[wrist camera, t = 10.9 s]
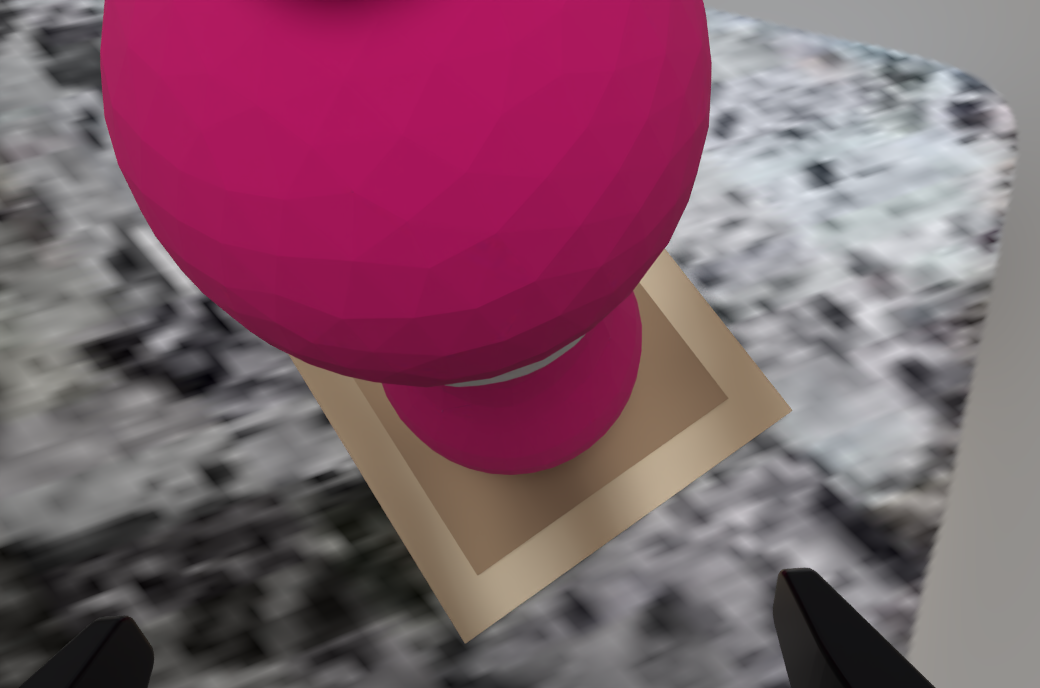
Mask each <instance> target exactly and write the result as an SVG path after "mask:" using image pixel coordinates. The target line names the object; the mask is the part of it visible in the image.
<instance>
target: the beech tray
mask: <svg viewBox="0 0 1040 688" xmlns="http://www.w3.org/2000/svg"><path fill="white" fill-rule="evenodd" d="M633 291H634V294H635V296H636V299H637V302H638V307H639V312H640V318H641V323H642V352H641V358H640V363H639V369H638V374H637V379H636V382H635V385H634V387H633V390H632V393H631V396H630V398H629V400H628V402H627V404H626V406H625V407H624V409H623V411H622V413H621V414H620V416H619V418H618V419H617V420H616V421H615V423H614V424H613V425H612V426H611V428H610V429H609V430H608V431H607V433H606V434H605V435H604V436H603V437H601V438H600V439H599V440H598V441H597V442H596V443H595V444H594V445H592V446H591V447H590V448H589V449H587V450H586V451H584V452H583V453H581V454H579V455H578V456H576V457H575V458H573V459H572V460H569V461H567V462H565V463H562V464H560V465H558V466H556V467H553V468H550V469H546V470H542V471H538V472H534V473H527V474H517V475H503V474H489V473H485V472H480V471H476V470H472V469H468V468H466V467H463V466H461V465H459V464H456V463H454V462H451V461H449V460H448V459H446V458H444V457H443V456H441V455H439V454H438V453H436V452H435V451H433V450H432V449H431V448H429V447H428V446H427V445H426V444H425V443H424V442H422V441H421V440H420V439H419V438H418V437H417V436H416V435H415V434H414V433H413V432H412V431H411V430H410V429H409V428H408V427H407V426H406V425H405V423H404V422H403V421H402V420H401V419H400V418H399V416H398V414H397V413H396V411H395V409H394V408H393V406H392V405H391V403H390V401H389V400H388V398H387V396H386V394H385V391H384V388H383V386H382V383H377V382H371V381H366V380H361V379H357V378H352V377H347V376H343V375H340V374H337V373H334V372H331V371H328V370H325V369H322V368H319V367H316V366H313V365H310V364H308V363H306V362H304V361H302V360H300V359H298V358H296V357H294V356H292V355H290V354H289V356H290V357H291V359H292V361H293V362H294V364H295V366H296V367H297V369H298V371H299V372H300V374H301V375H302V377H303V379H304V380H305V382H306V384H307V385H308V387H309V389H310V390H311V392H312V394H313V395H314V397H315V398H316V400H317V402H318V403H319V405H320V407H321V408H322V410H323V412H324V413H325V415H326V416H327V418H328V420H329V421H330V423H331V425H332V426H333V428H334V430H335V431H336V433H337V435H338V436H339V438H340V439H341V441H342V443H343V444H344V446H345V448H346V449H347V451H348V453H349V454H350V456H351V457H352V459H353V461H354V462H355V464H356V466H357V467H358V469H359V471H360V472H361V474H362V476H363V477H364V479H365V480H366V482H367V484H368V485H369V487H370V489H371V490H372V492H373V494H374V495H375V497H376V498H377V500H378V502H379V503H380V505H381V507H382V508H383V510H384V512H385V513H386V515H387V517H388V518H389V520H390V521H391V523H392V525H393V526H394V528H395V530H396V531H397V533H398V535H399V536H400V538H401V539H402V541H403V543H404V544H405V546H406V548H407V549H408V551H409V553H410V554H411V556H412V557H413V559H414V561H415V562H416V564H417V566H418V567H419V569H420V571H421V572H422V574H423V576H424V577H425V579H426V580H427V582H428V584H429V585H430V587H431V589H432V590H433V592H434V594H435V595H436V597H437V598H438V600H439V602H440V603H441V605H442V607H443V608H444V610H445V612H446V613H447V615H448V617H449V618H450V620H451V621H452V623H453V625H454V626H455V628H456V630H457V631H458V633H459V635H460V636H461V638H462V639H463V641H464V643H465V644H466V643H467V642H469V641H470V640H471V639H473V638H474V637H476V636H477V635H478V634H480V633H481V632H483V631H484V630H485V629H487V628H488V627H490V626H491V625H492V624H494V623H495V622H497V621H498V620H499V619H501V618H502V617H504V616H505V615H506V614H508V613H509V612H511V611H512V610H513V609H515V608H516V607H518V606H519V605H520V604H522V603H523V602H525V601H526V600H527V599H529V598H530V597H532V596H533V595H534V594H536V593H537V592H539V591H540V590H541V589H543V588H544V587H546V586H547V585H548V584H550V583H551V582H553V581H554V580H555V579H557V578H558V577H560V576H561V575H562V574H564V573H565V572H567V571H568V570H570V569H571V568H572V567H574V566H575V565H577V564H578V563H579V562H581V561H582V560H584V559H585V558H586V557H588V556H589V555H591V554H592V553H593V552H595V551H596V550H598V549H599V548H600V547H602V546H603V545H605V544H606V543H607V542H609V541H610V540H612V539H613V538H614V537H616V536H617V535H619V534H620V533H621V532H623V531H624V530H626V529H627V528H628V527H630V526H631V525H633V524H634V523H635V522H637V521H638V520H640V519H641V518H642V517H644V516H645V515H647V514H648V513H649V512H651V511H652V510H654V509H655V508H656V507H658V506H659V505H661V504H662V503H663V502H665V501H666V500H668V499H669V498H670V497H672V496H673V495H675V494H676V493H677V492H679V491H680V490H682V489H683V488H685V487H686V486H687V485H689V484H690V483H692V482H693V481H694V480H696V479H697V478H699V477H700V476H701V475H703V474H704V473H706V472H707V471H708V470H710V469H711V468H713V467H714V466H715V465H717V464H718V463H720V462H721V461H722V460H724V459H725V458H727V457H728V456H729V455H731V454H732V453H734V452H735V451H736V450H738V449H739V448H741V447H742V446H743V445H745V444H746V443H748V442H749V441H750V440H752V439H753V438H755V437H756V436H757V435H759V434H760V433H762V432H763V431H764V430H766V429H767V428H769V427H770V426H771V425H773V424H774V423H776V422H777V421H778V420H780V419H781V418H783V417H784V416H785V415H787V414H788V413H790V412H791V411H792V409H791V408H790V407H789V405H788V404H787V403H786V402H785V400H784V399H783V398H782V397H781V395H780V394H779V393H778V392H777V390H776V389H775V388H774V386H773V385H772V384H771V383H770V381H769V380H768V379H767V378H766V376H765V375H764V374H763V373H762V371H761V370H760V369H759V367H758V366H757V365H756V364H755V362H754V361H753V360H752V359H751V357H750V356H749V355H748V354H747V352H746V351H745V350H744V348H743V347H742V346H741V345H740V343H739V342H738V341H737V340H736V338H735V337H734V336H733V335H732V333H731V332H730V331H729V329H728V328H727V327H726V326H725V324H724V323H723V322H722V321H721V319H720V318H719V317H718V316H717V314H716V313H715V312H714V310H713V309H712V308H711V307H710V305H709V304H708V303H707V302H706V300H705V299H704V298H703V297H702V295H701V294H700V293H699V291H698V290H697V289H696V288H695V286H694V285H693V284H692V283H691V281H690V280H689V279H688V278H687V276H686V275H685V274H684V272H683V271H682V270H681V269H680V267H679V266H678V265H677V264H676V262H675V261H674V260H673V259H672V257H671V256H670V255H669V253H668V252H667V251H666V250H665V249H664V250H663V251H662V253H661V254H660V255H659V257H658V258H657V259H656V261H655V262H654V263H653V265H652V266H651V267H650V269H649V270H648V271H647V273H646V274H645V275H644V277H643V278H642V279H641V281H640V282H639V283H638V285H637V286H636V287H635V289H634V290H633Z"/></svg>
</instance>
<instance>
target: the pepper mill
mask: <svg viewBox="0 0 1040 688" xmlns="http://www.w3.org/2000/svg"><path fill="white" fill-rule="evenodd" d="M100 63H101V78H102V91H103V103H104V115H105V120H106V124H107V127H108V131H109V134H110V138H111V141H112V145H113V148H114V152H115V155H116V159H117V162H118V165H119V167H120V169H121V171H122V173H123V175H124V177H125V179H126V181H127V183H128V185H129V187H130V189H131V192H132V194H133V196H134V198H135V200H136V202H137V204H138V206H139V208H140V210H141V212H142V214H143V215H144V217H145V219H146V221H147V222H148V224H149V226H150V228H151V229H152V231H153V233H154V234H155V236H156V237H157V239H158V240H159V241H160V243H161V244H162V245H163V247H164V248H165V249H166V251H167V252H168V253H169V254H170V256H171V257H172V258H173V260H174V261H175V262H176V264H177V265H178V266H179V268H180V269H181V270H182V271H183V272H184V274H185V275H186V276H187V277H188V278H189V279H190V280H191V281H192V282H193V283H194V284H195V285H196V286H197V287H198V288H199V289H200V291H201V292H202V293H204V294H205V295H206V296H207V297H208V298H210V299H211V300H212V301H213V302H214V303H216V304H217V305H218V306H219V307H220V308H222V309H223V310H224V311H225V312H226V313H228V314H229V315H230V316H231V317H233V318H234V319H235V320H236V321H238V322H239V323H240V324H242V325H243V326H244V327H245V328H247V329H248V330H249V331H250V332H252V333H253V334H255V335H256V336H258V337H259V338H261V339H262V340H264V341H265V342H267V343H268V344H270V345H272V346H274V347H276V348H278V349H280V350H282V351H284V352H286V353H288V354H290V355H292V356H294V357H296V358H298V359H300V360H302V361H304V362H306V363H308V364H310V365H313V366H316V367H319V368H322V369H325V370H328V371H331V372H334V373H337V374H340V375H343V376H347V377H352V378H357V379H361V380H366V381H371V382H377V383H382V386H383V388H384V391H385V394H386V396H387V398H388V400H389V401H390V403H391V405H392V406H393V408H394V409H395V411H396V413H397V414H398V416H399V418H400V419H401V420H402V421H403V422H404V423H405V425H406V426H407V427H408V428H409V429H410V430H411V431H412V432H413V433H414V434H415V435H416V436H417V437H418V438H419V439H420V440H421V441H422V442H424V443H425V444H426V445H427V446H428V447H429V448H431V449H432V450H433V451H435V452H436V453H438V454H439V455H441V456H443V457H444V458H446V459H448V460H449V461H451V462H454V463H456V464H459V465H461V466H463V467H466V468H468V469H472V470H476V471H480V472H485V473H489V474H503V475H517V474H527V473H534V472H538V471H542V470H546V469H550V468H553V467H556V466H558V465H560V464H562V463H565V462H567V461H569V460H572V459H573V458H575V457H576V456H578V455H579V454H581V453H583V452H584V451H586V450H587V449H589V448H590V447H591V446H592V445H594V444H595V443H596V442H597V441H598V440H599V439H600V438H601V437H603V436H604V435H605V434H606V433H607V431H608V430H609V429H610V428H611V426H612V425H613V424H614V423H615V421H616V420H617V419H618V418H619V416H620V414H621V413H622V411H623V409H624V407H625V406H626V404H627V402H628V400H629V398H630V396H631V393H632V390H633V387H634V385H635V382H636V379H637V374H638V369H639V363H640V358H641V352H642V323H641V318H640V312H639V307H638V302H637V299H636V296H635V294H634V291H633V290H634V289H635V287H636V286H637V285H638V283H639V282H640V281H641V279H642V278H643V277H644V275H645V274H646V273H647V271H648V270H649V269H650V267H651V266H652V265H653V263H654V262H655V261H656V259H657V258H658V257H659V255H660V254H661V253H662V251H663V250H664V249H665V247H666V246H667V245H668V243H669V241H670V239H671V237H672V235H673V233H674V231H675V229H676V227H677V224H678V222H679V220H680V218H681V216H682V214H683V212H684V210H685V208H686V206H687V203H688V201H689V198H690V195H691V191H692V188H693V185H694V182H695V178H696V175H697V171H698V167H699V163H700V159H701V155H702V151H703V148H704V144H705V140H706V136H707V132H708V128H709V113H710V94H711V54H710V46H709V37H708V28H707V20H706V13H705V8H704V3H703V0H105V4H104V16H103V27H102V39H101V50H100Z"/></svg>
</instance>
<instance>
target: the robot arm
mask: <svg viewBox="0 0 1040 688" xmlns="http://www.w3.org/2000/svg"><path fill="white" fill-rule="evenodd" d="M773 618H774V624H775V628H776V632H777V635H778V639H779V643H780V647H781V651H782V655H783V658H784V662H785V666H786V670H787V674H788V678H789V681H790V685H791V688H935V687H934V686H933V685H932V684H931V683H930V682H929V681H928V680H927V679H926V678H925V677H924V676H923V675H922V674H921V673H920V672H919V671H918V670H917V669H916V668H915V667H914V666H913V665H912V664H910V663H909V662H908V661H907V660H906V659H905V658H904V657H903V656H902V655H901V654H900V653H899V652H898V651H897V650H896V649H895V648H894V647H893V646H892V645H891V644H890V643H889V642H888V641H887V640H886V639H885V638H884V637H883V636H882V635H881V634H880V633H879V632H878V631H877V630H876V629H874V628H873V627H872V626H871V625H870V624H869V623H868V622H867V621H866V620H865V619H864V618H863V617H862V616H861V615H860V614H859V613H858V612H857V611H856V610H855V609H854V608H853V607H852V606H851V605H850V604H849V603H848V602H847V601H846V600H845V599H844V598H843V597H842V596H841V595H840V594H838V593H837V592H836V591H835V590H834V589H833V588H832V587H831V586H830V585H829V584H828V583H827V582H826V581H825V580H824V579H823V578H822V577H821V576H820V575H819V574H818V573H817V572H816V571H814V570H812V569H810V568H793V569H783V570H781V571H780V573H779V575H778V579H777V585H776V591H775V597H774V603H773ZM153 664H154V652H153V648H152V646H151V645H150V643H149V642H148V640H147V639H146V637H145V636H144V634H143V633H142V631H141V630H140V629H139V627H138V626H137V624H136V623H135V621H134V620H133V619H132V618H131V617H129V616H109V617H102V618H99V619H97V620H95V621H93V622H92V623H91V624H90V625H88V626H87V627H86V628H85V629H84V630H83V631H82V632H81V633H79V634H78V635H77V636H76V637H75V638H74V639H73V640H71V641H70V642H69V643H68V644H67V645H66V646H65V647H64V648H62V649H61V650H60V651H59V652H58V653H57V654H56V655H55V656H53V657H52V658H51V659H50V660H49V661H48V662H47V663H46V664H44V665H43V666H42V667H41V668H40V669H39V670H38V671H37V672H35V673H34V674H33V675H32V676H31V677H30V678H29V679H28V680H26V681H25V682H24V683H23V684H22V685H21V686H20V687H18V688H148V684H149V680H150V677H151V673H152V669H153Z"/></svg>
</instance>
